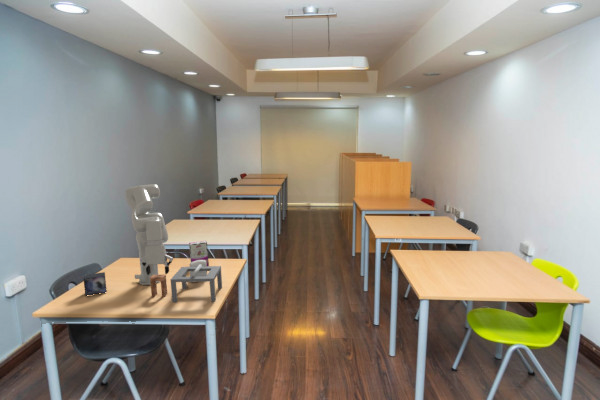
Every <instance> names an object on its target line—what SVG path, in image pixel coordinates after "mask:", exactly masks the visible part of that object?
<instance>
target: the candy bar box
mask: <svg viewBox="0 0 600 400" xmlns="http://www.w3.org/2000/svg"><path fill="white" fill-rule="evenodd" d="M188 246H189V257H190V259H189V260H190V263H191V262H193V261H196V260H205V261H206V263H207V266H210V264H209V262H210V261H209V250H208V242H207V240H201V241H195V242H193V241H192V242H189V243H188Z"/></svg>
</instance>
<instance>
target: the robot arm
mask: <svg viewBox="0 0 600 400" xmlns="http://www.w3.org/2000/svg"><path fill="white" fill-rule="evenodd" d="M124 192H125V193H124V195H125V199H126V203H127V204H128V206H129V207H130V209H131V211H132V213H131V223H132V226H133V230H134V231H135V232H136V235H135V240H136V244H137V248H138V254H139V255H138V256H139V267H140V268H139V269H140V274H135V275H134V278H135V280H138V279H139V280H138V283H139V285H141V286H142V285H143V286H151V283H150V277H151V276H152V275H159V265H164V275H167V274H169V272H170V265H172V262H173V260H174V257H173V256H170V255H168V254H167V250H166V246H165V243H166V242H168V240H169V234H168V230H167V227H166V223H165V219H164V215H163V214H162V213H161V212H149V211H151V210H152V209H153V206H154V203H153V199H159V198H160V196H161V190H160V187H159V186H158V184H155V183H153V184H150V183H149V184H142V185H140V184H139V185H137V186H130V187H128V188H126V189H125V191H124ZM158 283H161V281H156V284H158Z"/></svg>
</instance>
